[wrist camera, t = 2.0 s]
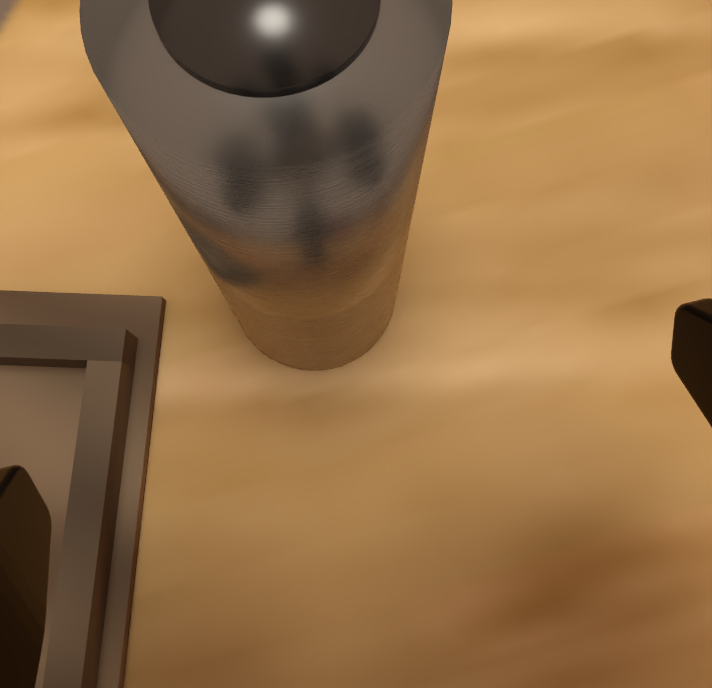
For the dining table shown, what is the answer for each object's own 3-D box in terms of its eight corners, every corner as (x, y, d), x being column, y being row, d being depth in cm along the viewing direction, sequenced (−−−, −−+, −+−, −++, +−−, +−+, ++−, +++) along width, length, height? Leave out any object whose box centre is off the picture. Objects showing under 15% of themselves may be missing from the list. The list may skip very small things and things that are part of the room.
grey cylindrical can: (392, 373, 22) (453, 165, 9) (228, 366, 22) (47, 149, 9) (397, 220, 23) (455, -157, 10) (241, 214, 23) (100, -170, 10)
